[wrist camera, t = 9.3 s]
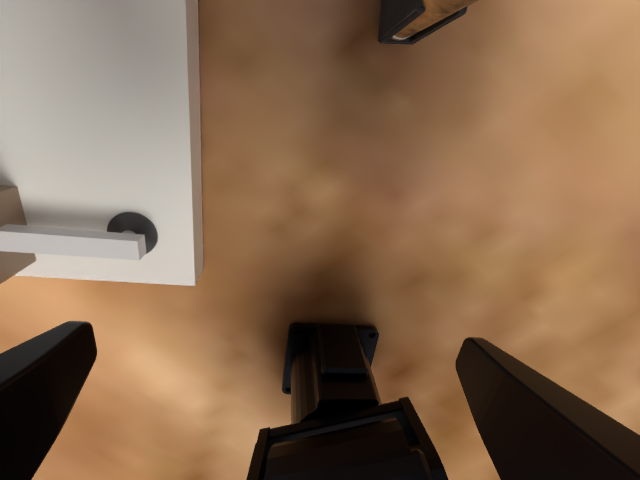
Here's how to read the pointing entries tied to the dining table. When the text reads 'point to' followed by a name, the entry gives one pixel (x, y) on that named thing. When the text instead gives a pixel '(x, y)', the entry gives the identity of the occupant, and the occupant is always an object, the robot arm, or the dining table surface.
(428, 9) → the ammunition clip
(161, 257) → the white base plate
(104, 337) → the dining table surface
